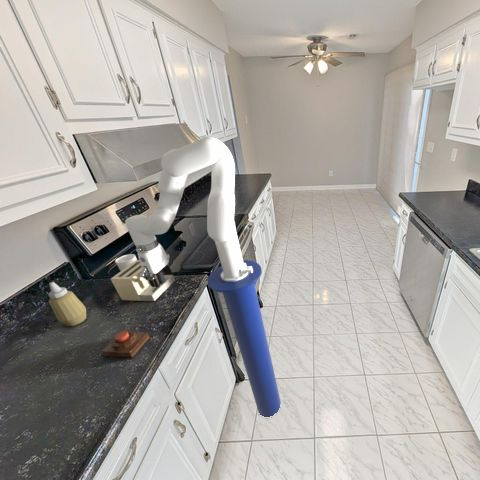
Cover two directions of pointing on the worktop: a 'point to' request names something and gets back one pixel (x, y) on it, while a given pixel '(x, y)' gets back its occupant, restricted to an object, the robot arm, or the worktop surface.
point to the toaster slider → (160, 277)
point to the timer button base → (126, 345)
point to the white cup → (125, 261)
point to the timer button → (122, 336)
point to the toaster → (138, 284)
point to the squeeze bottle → (66, 305)
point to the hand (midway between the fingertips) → (162, 280)
